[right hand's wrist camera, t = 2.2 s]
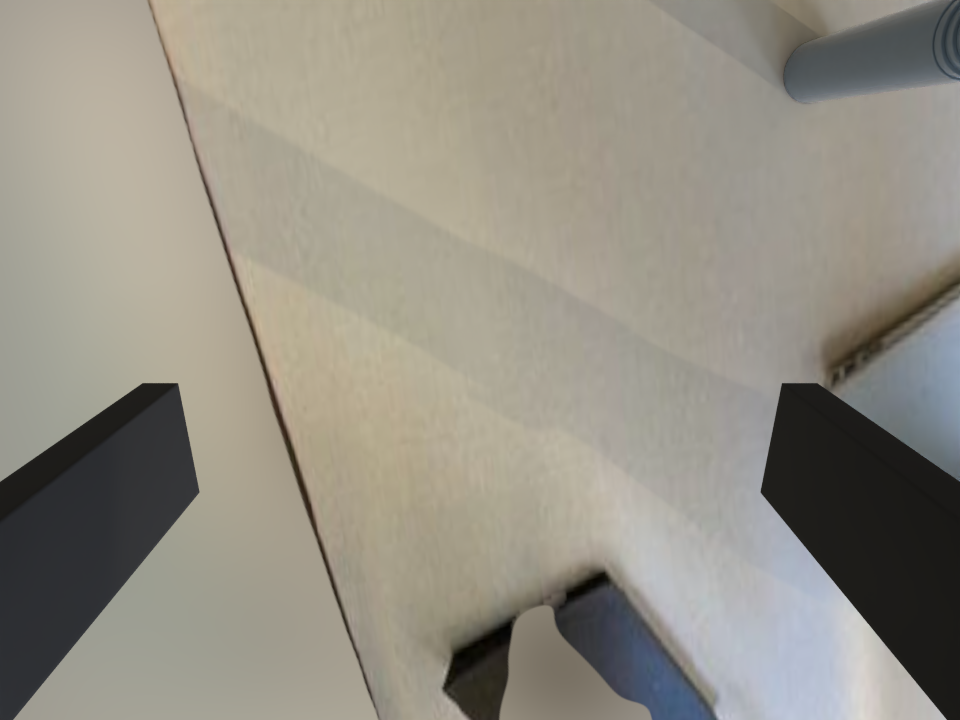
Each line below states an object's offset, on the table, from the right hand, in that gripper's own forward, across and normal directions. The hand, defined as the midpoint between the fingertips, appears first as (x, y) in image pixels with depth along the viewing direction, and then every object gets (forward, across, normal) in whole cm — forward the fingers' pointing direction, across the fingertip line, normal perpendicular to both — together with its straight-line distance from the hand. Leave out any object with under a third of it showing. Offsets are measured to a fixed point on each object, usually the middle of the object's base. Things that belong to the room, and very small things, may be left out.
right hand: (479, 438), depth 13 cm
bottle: (+41, +27, +12) cm, 50 cm away
